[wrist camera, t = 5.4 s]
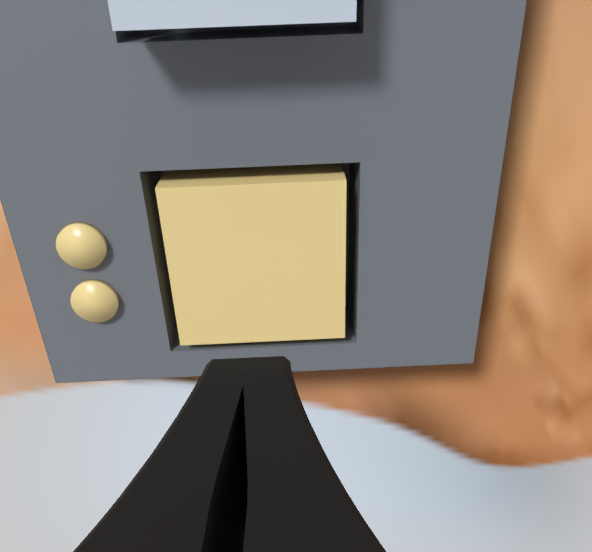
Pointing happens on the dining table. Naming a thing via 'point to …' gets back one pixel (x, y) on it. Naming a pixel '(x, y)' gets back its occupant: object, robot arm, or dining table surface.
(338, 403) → the dining table surface
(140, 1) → the key grey
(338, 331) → the key ochre
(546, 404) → the dining table surface
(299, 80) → the grey flat block
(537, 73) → the dining table surface
